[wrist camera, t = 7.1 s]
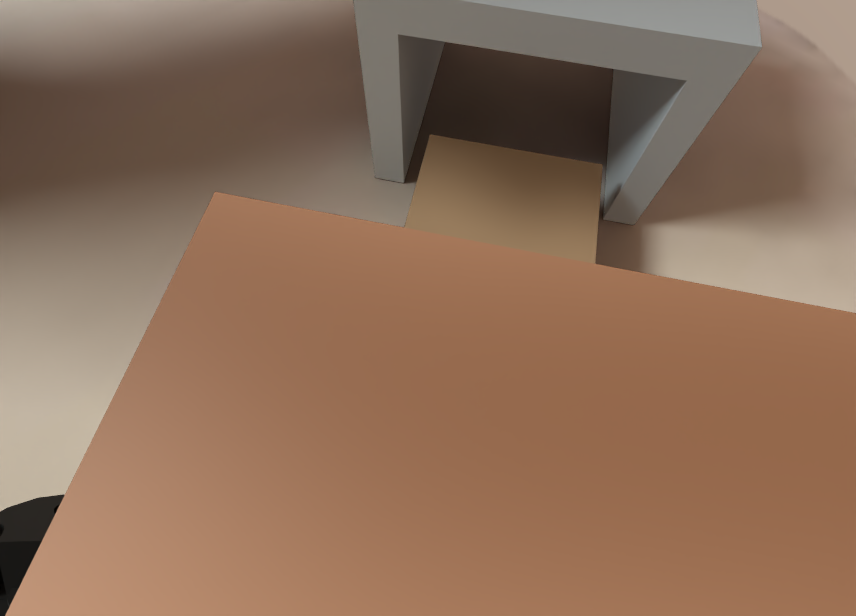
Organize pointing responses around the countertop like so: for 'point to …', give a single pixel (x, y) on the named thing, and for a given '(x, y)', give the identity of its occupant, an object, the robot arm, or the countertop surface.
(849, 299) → the countertop surface
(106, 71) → the countertop surface
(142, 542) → the wooden pillar on base
